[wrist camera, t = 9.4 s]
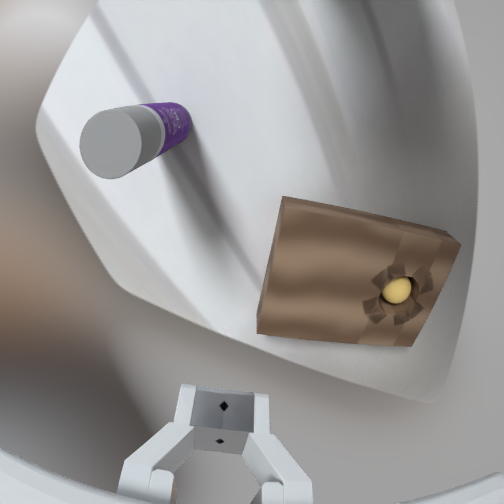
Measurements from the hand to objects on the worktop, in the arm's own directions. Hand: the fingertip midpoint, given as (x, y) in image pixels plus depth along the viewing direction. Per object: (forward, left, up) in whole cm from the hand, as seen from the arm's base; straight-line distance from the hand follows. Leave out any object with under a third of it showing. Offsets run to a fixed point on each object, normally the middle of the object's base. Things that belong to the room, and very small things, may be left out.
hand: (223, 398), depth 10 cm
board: (+8, +15, -26) cm, 32 cm away
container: (-6, -9, -27) cm, 29 cm away
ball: (+8, +20, -24) cm, 33 cm away
